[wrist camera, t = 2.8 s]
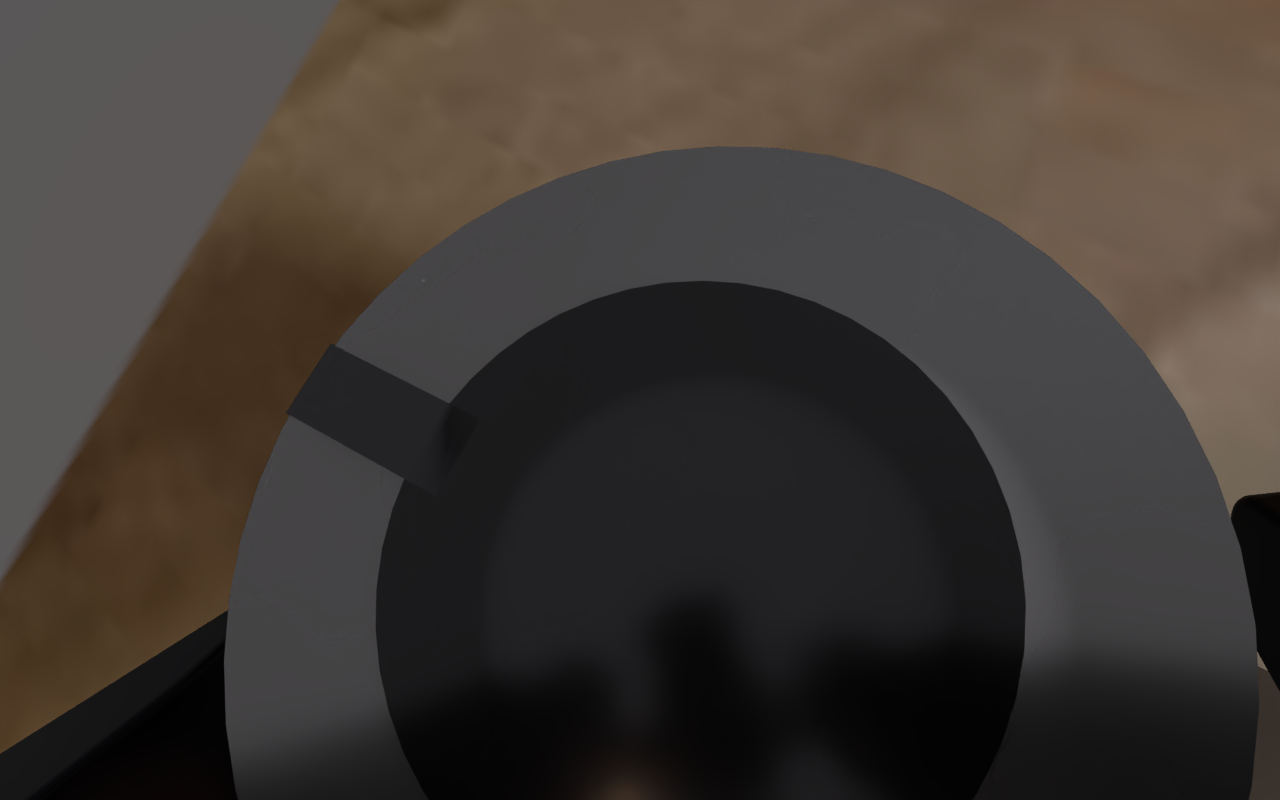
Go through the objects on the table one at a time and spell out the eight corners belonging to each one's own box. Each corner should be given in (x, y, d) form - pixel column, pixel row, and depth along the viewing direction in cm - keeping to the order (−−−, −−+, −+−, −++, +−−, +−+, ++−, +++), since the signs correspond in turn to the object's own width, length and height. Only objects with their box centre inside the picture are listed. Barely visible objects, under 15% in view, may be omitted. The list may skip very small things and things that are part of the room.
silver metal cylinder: (860, 928, 13) (996, 1632, 3) (535, 721, 15) (32, 784, 5) (1010, 571, 15) (1425, 326, 5) (692, 424, 17) (514, 39, 7)
